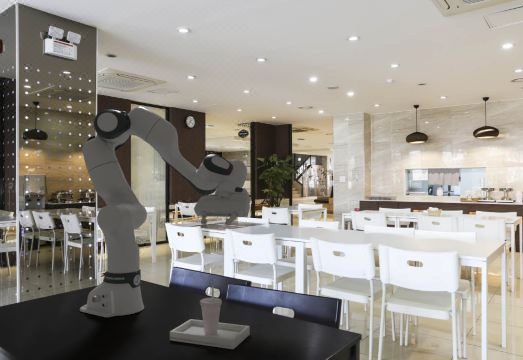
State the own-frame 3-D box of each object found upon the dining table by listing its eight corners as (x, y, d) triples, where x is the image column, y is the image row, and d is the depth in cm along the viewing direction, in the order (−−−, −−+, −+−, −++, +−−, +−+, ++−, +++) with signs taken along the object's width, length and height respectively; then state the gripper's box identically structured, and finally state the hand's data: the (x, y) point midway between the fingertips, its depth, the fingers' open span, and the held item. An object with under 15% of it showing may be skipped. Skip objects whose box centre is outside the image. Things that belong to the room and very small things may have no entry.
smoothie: (217, 338, 119) (217, 288, 119) (196, 336, 121) (196, 287, 121) (224, 330, 126) (224, 283, 126) (204, 328, 127) (204, 282, 127)
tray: (169, 340, 120) (169, 331, 120) (190, 327, 132) (190, 319, 132) (233, 349, 114) (233, 339, 114) (249, 334, 125) (249, 326, 125)
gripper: (199, 189, 155) (185, 217, 146) (250, 189, 148) (239, 218, 139) (204, 200, 159) (191, 229, 150) (254, 201, 152) (244, 230, 143)
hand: (215, 224), depth 144 cm, fingers open, 8 cm apart
